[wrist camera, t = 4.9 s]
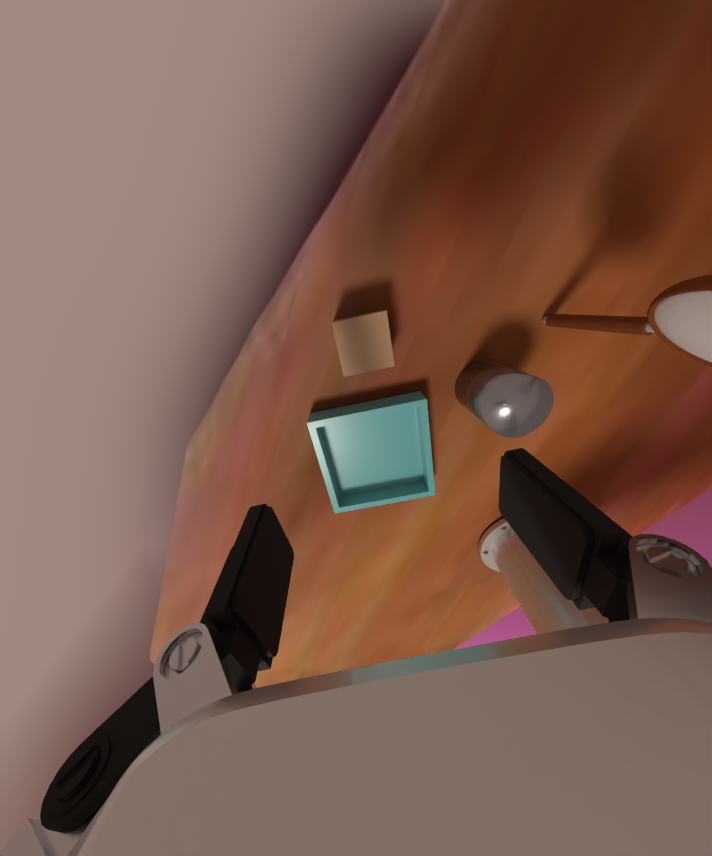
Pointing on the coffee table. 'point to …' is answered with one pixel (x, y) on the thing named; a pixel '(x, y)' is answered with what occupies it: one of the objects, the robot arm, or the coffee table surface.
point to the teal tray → (375, 451)
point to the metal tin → (504, 397)
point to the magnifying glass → (662, 319)
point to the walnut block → (363, 342)
